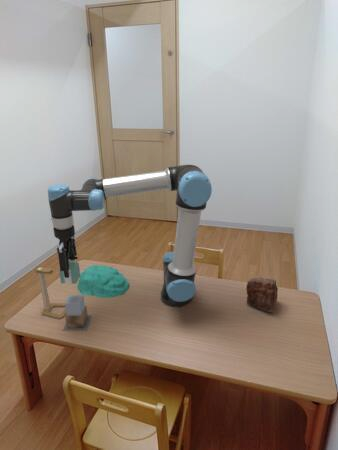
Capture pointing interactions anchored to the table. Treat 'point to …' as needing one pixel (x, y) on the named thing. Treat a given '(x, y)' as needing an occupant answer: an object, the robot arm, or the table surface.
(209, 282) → the table surface
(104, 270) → the decorative stone
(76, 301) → the gray block
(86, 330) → the coaster
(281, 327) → the table surface
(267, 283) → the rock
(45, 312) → the headphone stand
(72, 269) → the teal block
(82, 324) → the base block
